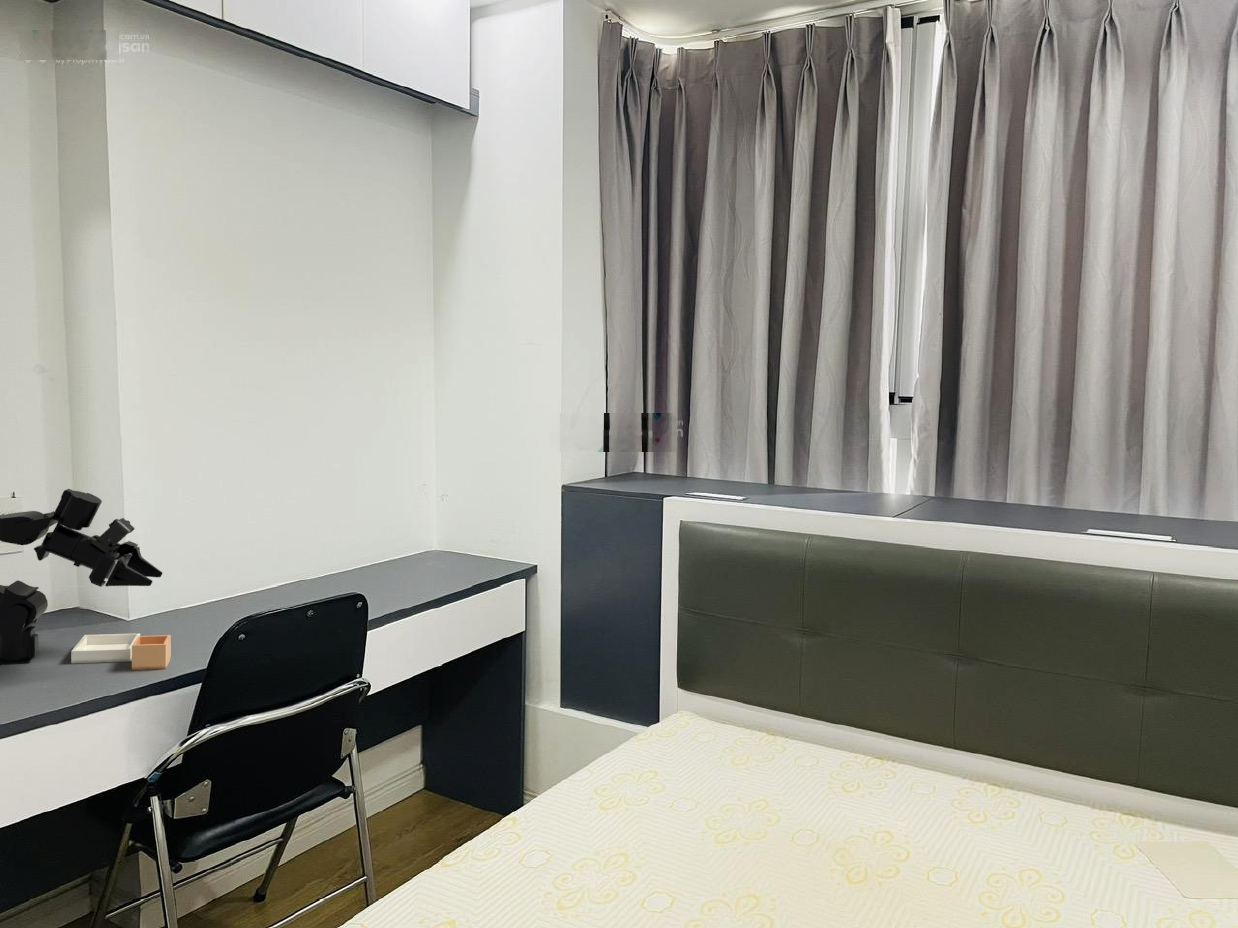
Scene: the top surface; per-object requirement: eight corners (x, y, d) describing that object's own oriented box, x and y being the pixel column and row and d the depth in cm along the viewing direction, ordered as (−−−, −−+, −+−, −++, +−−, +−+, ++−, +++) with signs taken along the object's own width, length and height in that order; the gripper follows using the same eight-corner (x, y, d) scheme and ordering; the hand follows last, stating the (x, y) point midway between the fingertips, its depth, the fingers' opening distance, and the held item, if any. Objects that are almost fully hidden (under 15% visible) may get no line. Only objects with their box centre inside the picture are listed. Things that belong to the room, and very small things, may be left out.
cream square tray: (71, 663, 178) (71, 651, 178) (84, 646, 188) (84, 634, 188) (130, 661, 181) (130, 649, 181) (140, 644, 191) (140, 633, 191)
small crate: (131, 670, 177) (131, 645, 176) (137, 659, 182) (138, 636, 182) (165, 668, 179) (165, 644, 178) (170, 658, 184) (170, 635, 184)
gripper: (83, 517, 170) (165, 550, 175) (110, 506, 188) (183, 537, 193) (55, 570, 170) (138, 602, 174) (85, 554, 188) (159, 584, 192)
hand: (156, 579), depth 183 cm, fingers open, 9 cm apart
